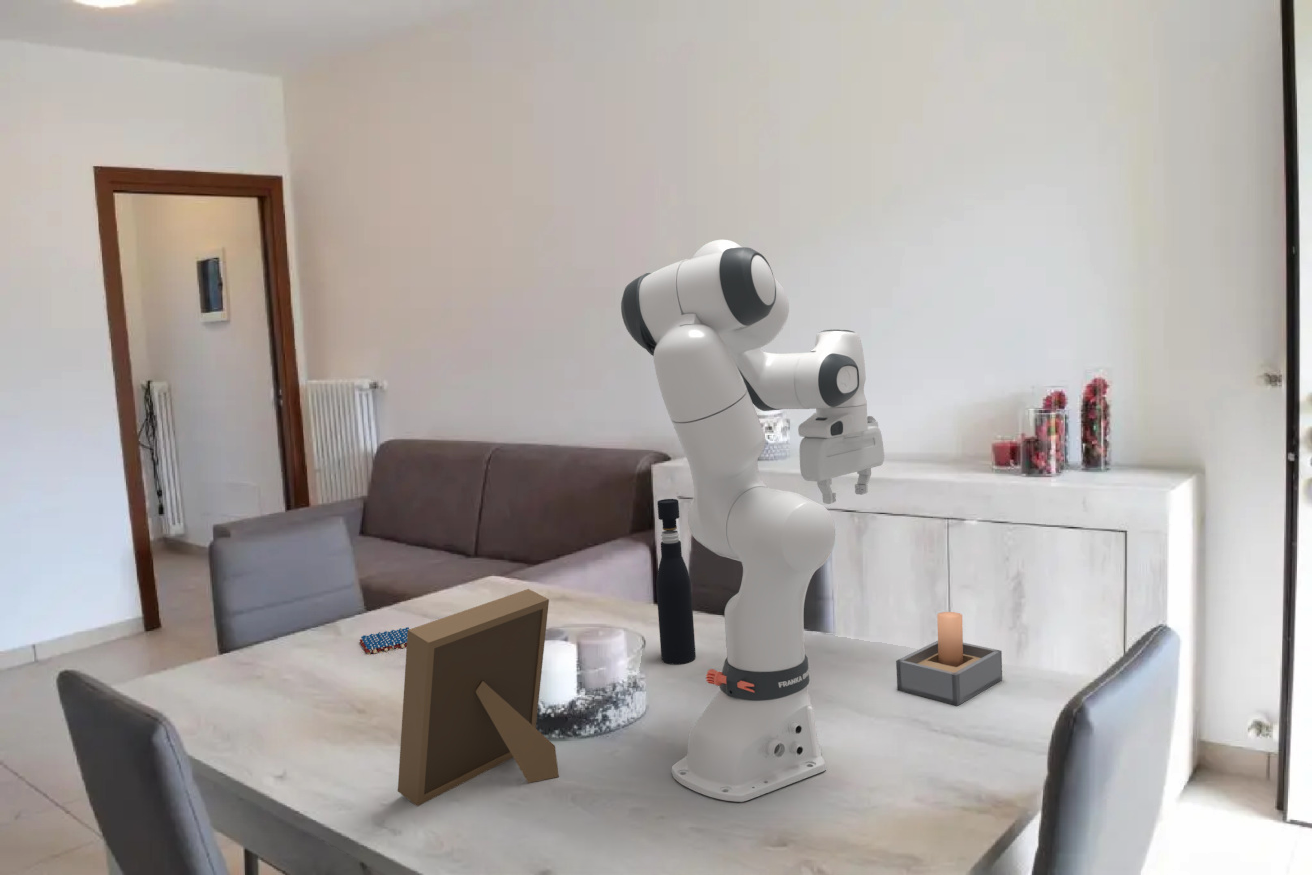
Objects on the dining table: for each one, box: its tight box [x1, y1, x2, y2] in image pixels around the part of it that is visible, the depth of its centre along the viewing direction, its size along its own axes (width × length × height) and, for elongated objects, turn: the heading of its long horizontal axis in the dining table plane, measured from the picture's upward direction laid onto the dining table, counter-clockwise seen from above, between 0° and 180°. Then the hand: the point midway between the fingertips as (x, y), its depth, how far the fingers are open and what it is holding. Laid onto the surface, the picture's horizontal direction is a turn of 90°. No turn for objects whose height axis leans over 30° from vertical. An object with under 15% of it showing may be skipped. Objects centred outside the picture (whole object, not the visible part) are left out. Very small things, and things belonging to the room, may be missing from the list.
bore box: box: [895, 640, 1003, 707], centre depth 165 cm, size 14×11×5 cm
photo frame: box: [397, 588, 559, 807], centre depth 141 cm, size 15×22×25 cm
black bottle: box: [655, 498, 697, 665], centre depth 186 cm, size 6×6×30 cm
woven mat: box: [359, 627, 410, 656], centre depth 208 cm, size 10×11×2 cm
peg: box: [936, 611, 964, 667], centre depth 168 cm, size 4×4×10 cm
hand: (845, 498), depth 179 cm, fingers open, 8 cm apart
